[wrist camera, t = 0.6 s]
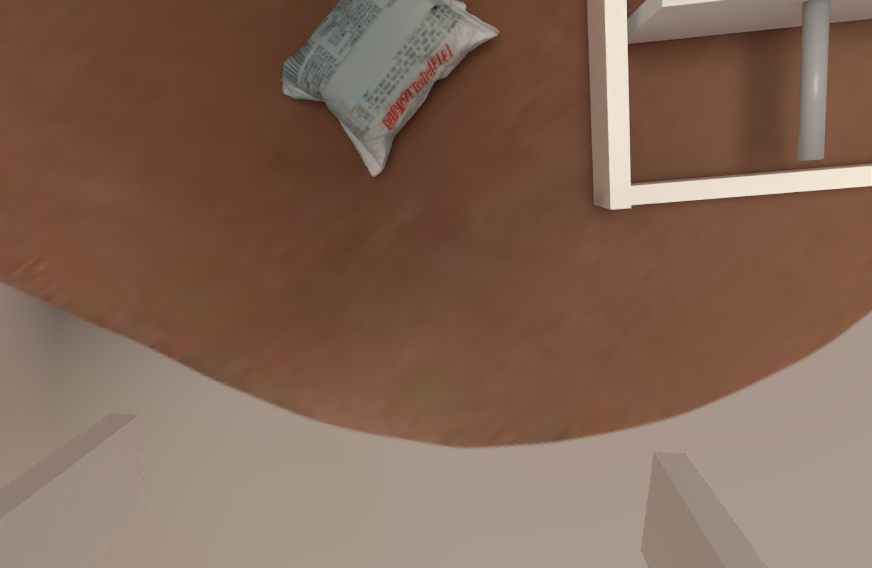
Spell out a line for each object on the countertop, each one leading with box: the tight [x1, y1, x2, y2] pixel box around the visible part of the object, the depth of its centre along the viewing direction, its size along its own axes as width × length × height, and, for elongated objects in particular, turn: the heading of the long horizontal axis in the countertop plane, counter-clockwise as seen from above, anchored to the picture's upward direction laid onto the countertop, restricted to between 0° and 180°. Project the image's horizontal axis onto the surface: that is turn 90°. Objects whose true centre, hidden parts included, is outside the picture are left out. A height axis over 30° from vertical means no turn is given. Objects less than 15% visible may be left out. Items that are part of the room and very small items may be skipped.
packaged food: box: [280, 0, 499, 177], centre depth 36 cm, size 9×12×5 cm
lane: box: [587, 0, 872, 210], centre depth 34 cm, size 21×20×5 cm
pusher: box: [627, 0, 872, 161], centre depth 33 cm, size 9×17×9 cm, turn 95°
